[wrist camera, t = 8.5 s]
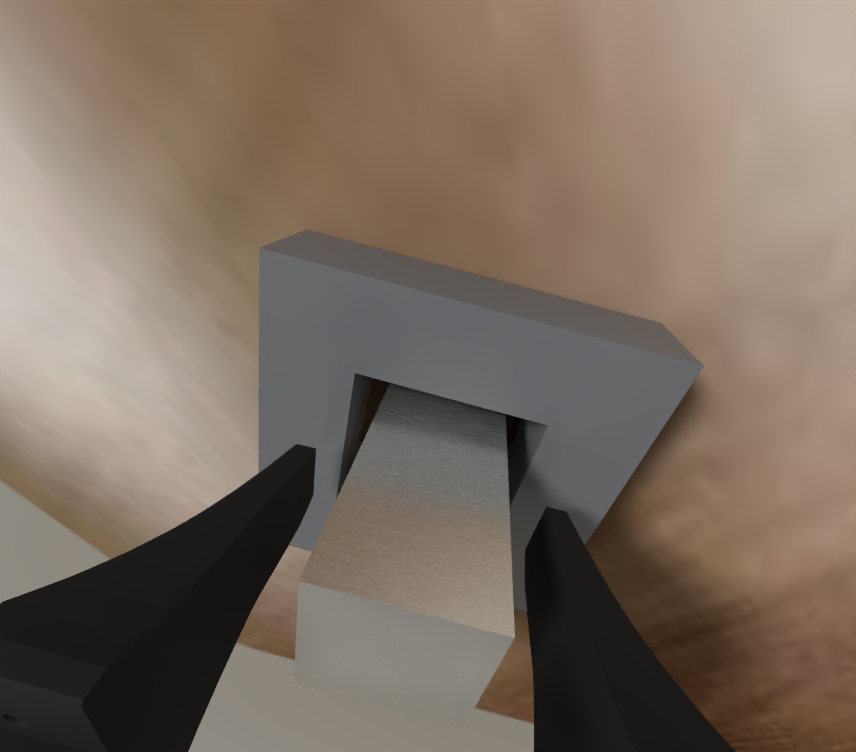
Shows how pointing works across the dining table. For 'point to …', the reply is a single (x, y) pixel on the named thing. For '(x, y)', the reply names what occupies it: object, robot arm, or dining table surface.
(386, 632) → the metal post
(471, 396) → the frame
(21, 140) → the dining table surface
